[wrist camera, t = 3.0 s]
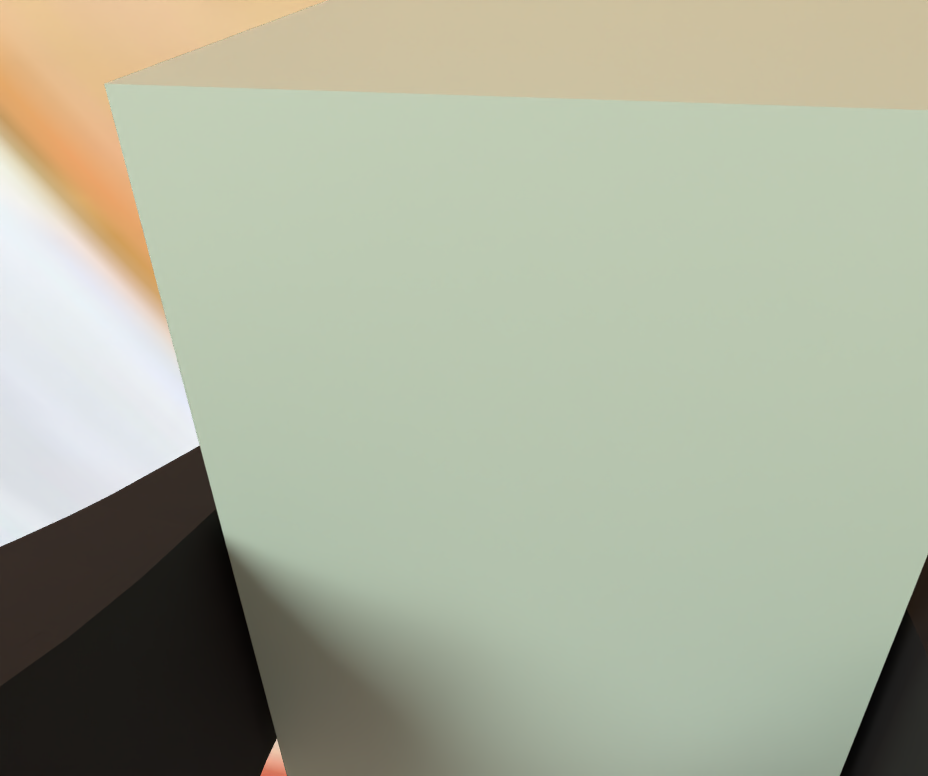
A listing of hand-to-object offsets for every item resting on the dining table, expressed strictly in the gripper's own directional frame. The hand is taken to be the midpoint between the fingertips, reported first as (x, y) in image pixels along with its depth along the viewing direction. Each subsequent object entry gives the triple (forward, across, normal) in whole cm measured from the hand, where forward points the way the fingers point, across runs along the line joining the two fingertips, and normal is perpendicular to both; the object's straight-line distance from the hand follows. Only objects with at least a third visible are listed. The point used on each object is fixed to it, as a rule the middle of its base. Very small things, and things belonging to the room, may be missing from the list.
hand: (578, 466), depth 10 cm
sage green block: (+2, 0, 0) cm, 2 cm away
